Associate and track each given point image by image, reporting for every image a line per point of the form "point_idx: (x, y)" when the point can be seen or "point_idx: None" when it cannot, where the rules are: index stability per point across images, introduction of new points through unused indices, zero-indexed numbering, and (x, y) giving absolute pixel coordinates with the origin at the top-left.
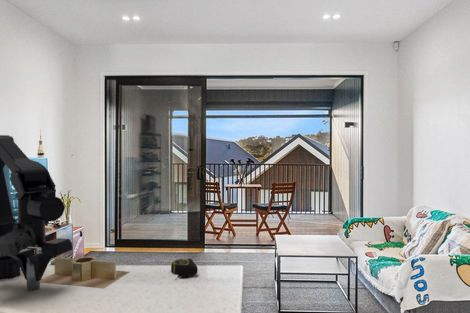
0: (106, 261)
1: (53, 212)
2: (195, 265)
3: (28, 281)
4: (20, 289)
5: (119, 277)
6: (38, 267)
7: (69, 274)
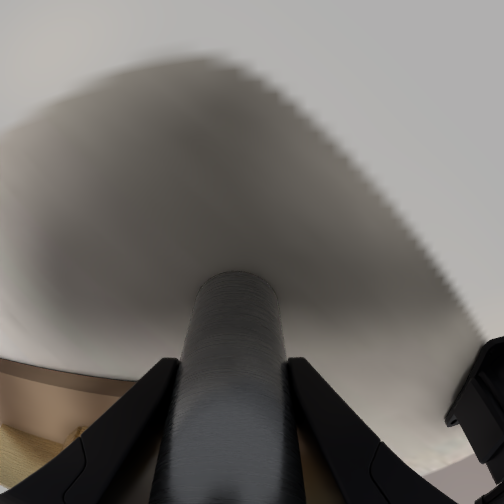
0: (7, 488)
1: None
2: None
3: (234, 332)
4: (372, 325)
5: None
6: (67, 450)
7: None
